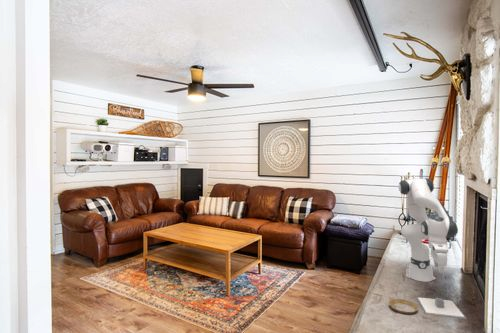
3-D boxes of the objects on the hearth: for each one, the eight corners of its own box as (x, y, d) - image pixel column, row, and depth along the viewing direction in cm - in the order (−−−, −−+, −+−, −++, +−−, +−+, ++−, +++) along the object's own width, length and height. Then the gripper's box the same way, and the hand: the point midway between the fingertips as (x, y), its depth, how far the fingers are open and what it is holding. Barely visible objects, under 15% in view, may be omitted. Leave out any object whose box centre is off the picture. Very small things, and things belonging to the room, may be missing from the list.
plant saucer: (408, 302, 174) (408, 298, 173) (423, 315, 159) (423, 311, 159) (384, 303, 173) (384, 299, 173) (397, 317, 158) (397, 312, 158)
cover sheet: (417, 298, 177) (417, 290, 177) (451, 301, 172) (451, 294, 172) (426, 313, 160) (426, 305, 160) (464, 317, 155) (464, 309, 154)
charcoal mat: (415, 298, 178) (415, 297, 178) (453, 302, 172) (453, 301, 172) (424, 314, 159) (424, 314, 159) (467, 319, 153) (467, 319, 153)
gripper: (427, 240, 177) (428, 263, 177) (435, 249, 158) (436, 274, 158) (439, 241, 175) (440, 264, 174) (449, 250, 156) (450, 276, 155)
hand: (438, 269), depth 166 cm, fingers open, 8 cm apart
